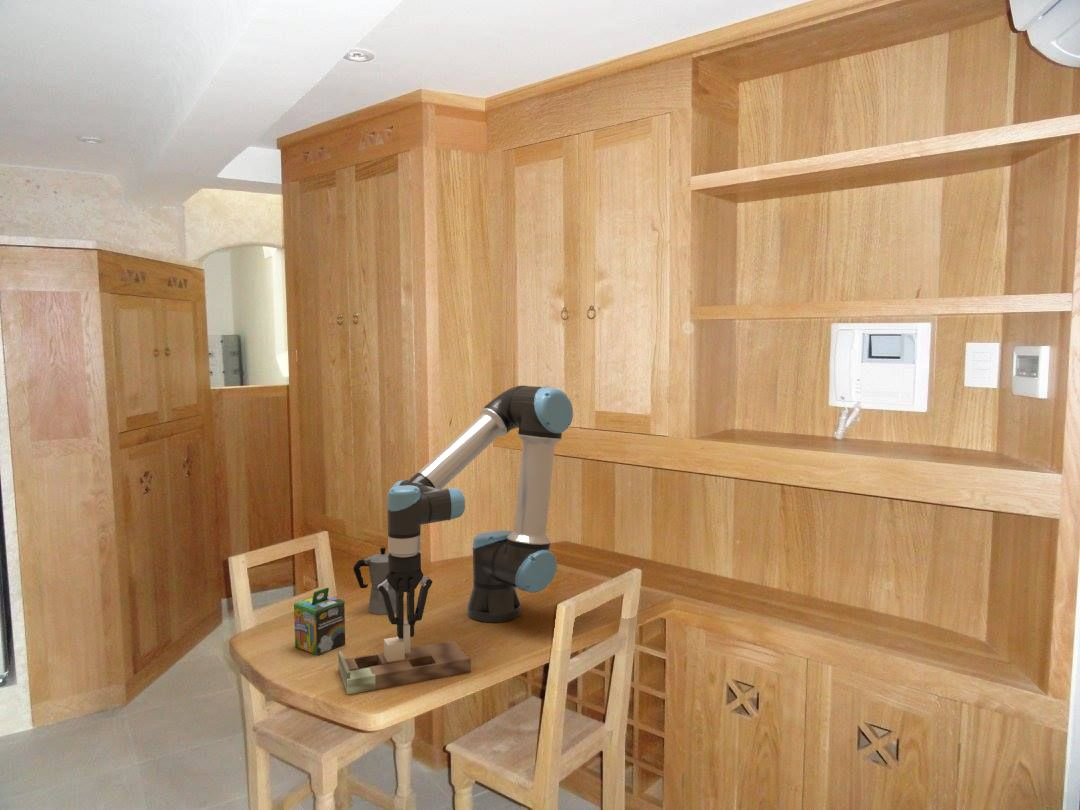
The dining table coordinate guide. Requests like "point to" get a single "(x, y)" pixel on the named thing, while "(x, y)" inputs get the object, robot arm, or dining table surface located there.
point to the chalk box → (319, 623)
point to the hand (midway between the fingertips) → (405, 650)
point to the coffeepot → (376, 581)
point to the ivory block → (394, 649)
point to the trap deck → (402, 667)
